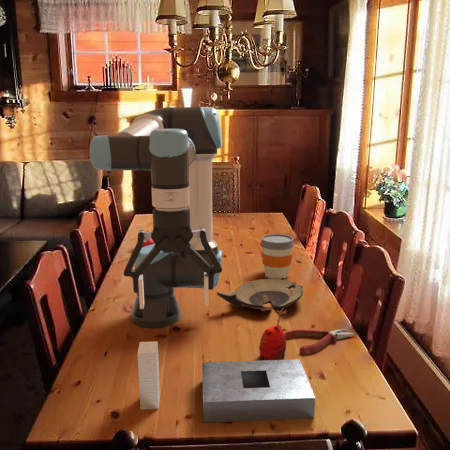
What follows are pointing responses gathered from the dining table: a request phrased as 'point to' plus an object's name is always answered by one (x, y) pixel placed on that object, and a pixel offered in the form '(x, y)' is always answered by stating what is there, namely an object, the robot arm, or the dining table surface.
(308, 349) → the pliers
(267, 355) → the red clay folk toy
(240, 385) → the bracket head
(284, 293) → the broken bowl
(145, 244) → the pomegranate
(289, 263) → the reusable coffee cup
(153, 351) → the white tall block
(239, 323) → the dining table surface
